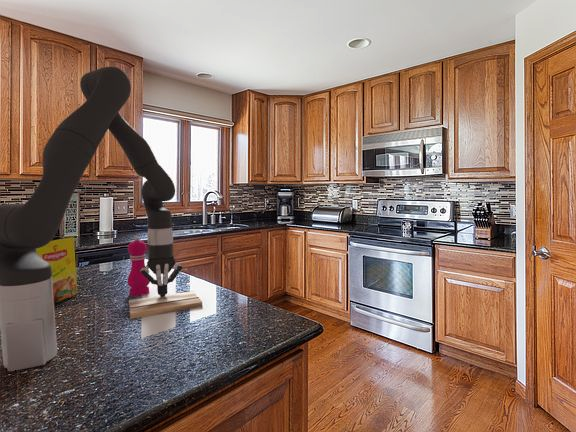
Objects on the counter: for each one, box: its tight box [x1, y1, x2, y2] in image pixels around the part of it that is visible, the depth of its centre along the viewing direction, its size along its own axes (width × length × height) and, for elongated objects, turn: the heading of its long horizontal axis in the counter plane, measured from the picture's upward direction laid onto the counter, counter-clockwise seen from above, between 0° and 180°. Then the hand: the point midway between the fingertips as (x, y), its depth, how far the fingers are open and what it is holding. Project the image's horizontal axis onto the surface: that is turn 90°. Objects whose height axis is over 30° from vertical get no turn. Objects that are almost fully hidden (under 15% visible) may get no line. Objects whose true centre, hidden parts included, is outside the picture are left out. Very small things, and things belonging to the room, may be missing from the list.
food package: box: [36, 236, 78, 304], centre depth 110 cm, size 15×1×20 cm, turn 168°
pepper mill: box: [126, 235, 151, 297], centre depth 118 cm, size 7×7×20 cm
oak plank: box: [129, 296, 203, 320], centre depth 102 cm, size 5×20×2 cm, turn 118°
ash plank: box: [128, 290, 198, 307], centre depth 108 cm, size 7×20×2 cm, turn 118°
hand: (162, 295), depth 109 cm, fingers closed
